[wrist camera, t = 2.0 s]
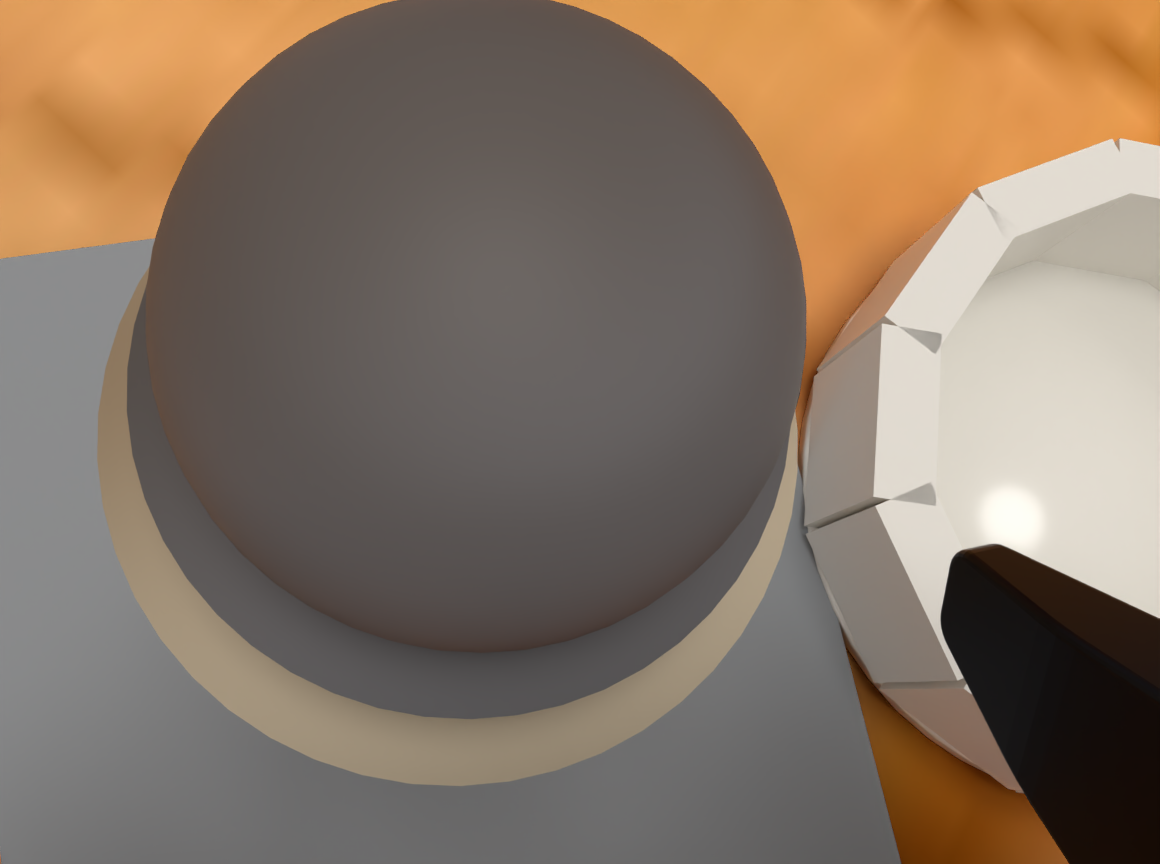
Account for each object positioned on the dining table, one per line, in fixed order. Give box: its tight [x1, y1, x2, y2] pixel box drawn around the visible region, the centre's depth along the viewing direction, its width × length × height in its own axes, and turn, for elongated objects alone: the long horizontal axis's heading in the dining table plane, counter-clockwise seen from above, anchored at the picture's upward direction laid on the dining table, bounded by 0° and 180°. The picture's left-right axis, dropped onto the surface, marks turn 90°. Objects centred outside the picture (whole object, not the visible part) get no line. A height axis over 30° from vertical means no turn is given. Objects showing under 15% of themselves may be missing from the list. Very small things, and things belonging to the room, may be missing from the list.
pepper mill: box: [97, 0, 806, 786], centre depth 11 cm, size 4×4×15 cm
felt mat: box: [0, 239, 901, 864], centre depth 19 cm, size 14×14×1 cm
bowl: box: [798, 138, 1160, 793], centre depth 19 cm, size 11×11×4 cm
